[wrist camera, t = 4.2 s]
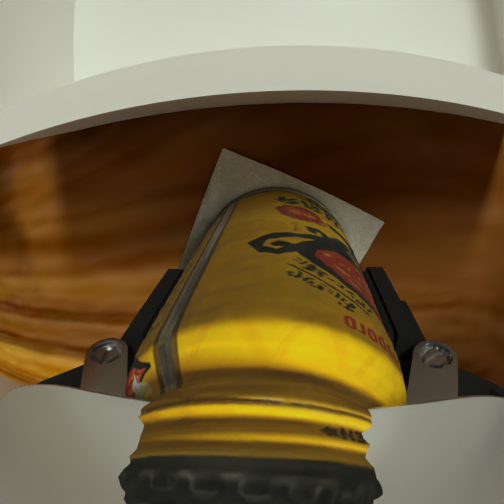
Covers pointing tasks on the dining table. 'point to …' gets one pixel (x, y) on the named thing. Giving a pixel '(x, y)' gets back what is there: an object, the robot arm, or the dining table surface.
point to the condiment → (264, 353)
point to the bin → (242, 58)
